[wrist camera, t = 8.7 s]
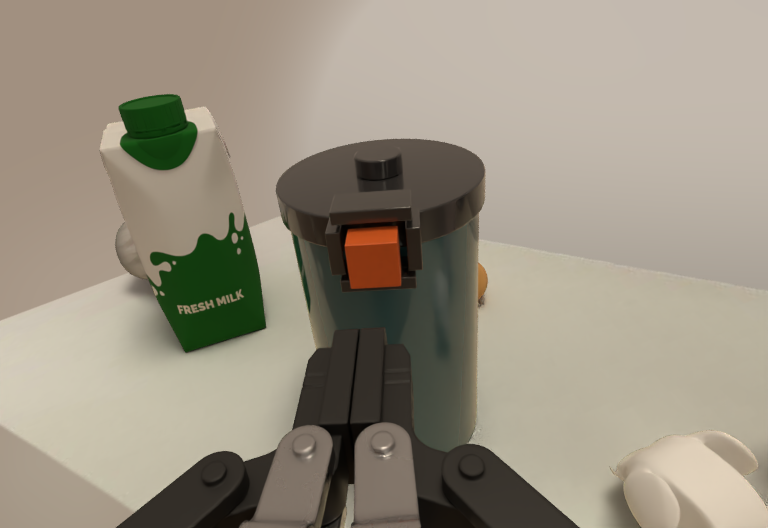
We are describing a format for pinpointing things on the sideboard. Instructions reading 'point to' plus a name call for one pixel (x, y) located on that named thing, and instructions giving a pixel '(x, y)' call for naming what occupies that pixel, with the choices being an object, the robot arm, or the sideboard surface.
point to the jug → (418, 263)
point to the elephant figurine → (692, 483)
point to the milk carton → (185, 218)
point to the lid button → (373, 257)
